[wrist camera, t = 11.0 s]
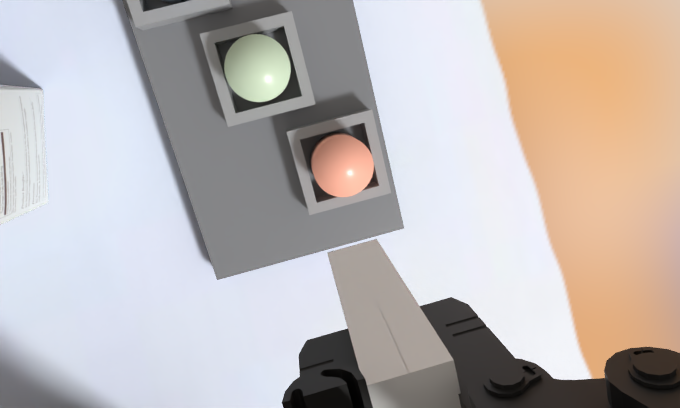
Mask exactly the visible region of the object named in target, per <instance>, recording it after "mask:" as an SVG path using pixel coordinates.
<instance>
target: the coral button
mask: <svg viewBox="0 0 680 408" xmlns="http://www.w3.org/2000/svg"><path fill="white" fill-rule="evenodd" d="M310 164H311V169H312V172H313V174H314V177H315V180H316V182H317V183H318V185H319V186H320V187H321V188H322V189H323V190H324V191H325V192H327V193H328V194H330V195H333V196H336V197H349V196H353V195H355V194H357V193H359V192H361V191H362V190H363V189H364V188H365V187H366V186H367V185H368V183H369V182H370V180H371V178H372V175H373V170H374V162H373V158H372V155H371V153H370V151H369V149H368V148H367V147H366V146H365V145H364V144H363V143H362V142H361V141H359V140H357V139H356V138H354V137H353V136H351V135H348V134H345V133H331V134H328V135H326V136H324V137H323V138H321V139H320V140H319V141H318V142H317V143H316V145H315V146H314V148H313V150H312V153H311V158H310Z"/></svg>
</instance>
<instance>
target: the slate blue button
mask: <svg viewBox="0 0 680 408" xmlns="http://www.w3.org/2000/svg"><path fill="white" fill-rule="evenodd" d="M162 1H164V2H168V3H182V2H186V1H188V0H162Z"/></svg>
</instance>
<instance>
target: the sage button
mask: <svg viewBox="0 0 680 408" xmlns="http://www.w3.org/2000/svg"><path fill="white" fill-rule="evenodd" d="M224 70H225V76H226V79H227V81H228V83H229V85H230V87H231V88H232V89H233V90H234V92H235V93H237V94H238V95H239V96H241V97H242V98H244V99H246V100H249V101H253V102H265V101H269V100H272V99H274V98H276V97H277V96H279V95H280V94H281V93H282V92H283V91H284V89H285V88H286V86H287V84H288V81H289V78H290V72H291V68H290V61H289V58H288V55H287V53H286V51H285V50H284V48H283V47H282V46H281V45H280V44H279V43H278V42H277V41H276V40H274V39H272V38H271V37H268V36H265V35H261V34H251V35H247V36H244V37H242V38H240V39H238V40H237V41H236V42H235V43H233V45H232V46H231V47H230V49H229V50H228V52H227V54H226V58H225V63H224Z"/></svg>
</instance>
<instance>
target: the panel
mask: <svg viewBox="0 0 680 408" xmlns="http://www.w3.org/2000/svg"><path fill="white" fill-rule="evenodd" d="M122 1H123V3H124V6H125V9H126V12H127V15H128V18H129V21H130V24H131V27H132V30H133V33H134V36H135V39H136V42H137V45H138V48H139V51H140V54H141V57H142V60H143V62H144V65H145V68H146V71H147V74H148V77H149V80H150V83H151V86H152V89H153V92H154V95H155V98H156V101H157V104H158V107H159V110H160V113H161V116H162V118H163V121H164V124H165V127H166V130H167V133H168V136H169V139H170V142H171V145H172V148H173V151H174V154H175V157H176V160H177V163H178V166H179V169H180V172H181V175H182V177H183V180H184V183H185V186H186V189H187V192H188V195H189V198H190V201H191V204H192V207H193V210H194V213H195V216H196V219H197V222H198V225H199V228H200V231H201V234H202V236H203V239H204V242H205V245H206V248H207V251H208V254H209V257H210V260H211V263H212V266H213V269H214V272H215V275H216V278H217V280H219V279H222V278H226V277H230V276H233V275H237V274H240V273H244V272H248V271H251V270H255V269H259V268H262V267H266V266H269V265H273V264H277V263H280V262H284V261H287V260H291V259H295V258H298V257H302V256H306V255H309V254H313V253H316V252H320V251H324V250H327V249H331V248H334V247H338V246H342V245H345V244H349V243H353V242H356V241H360V240H363V239H367V238H371V237H374V236H378V235H381V234H385V233H389V232H392V231H396V230H400V229H403V228H404V226H403V221H402V217H401V212H400V208H399V203H398V199H397V195H396V190H395V186H394V181H393V177H392V172H391V168H390V163H389V159H388V155H387V150H386V146H385V141H384V137H383V132H382V128H381V123H380V119H379V115H378V110H377V106H376V101H375V97H374V92H373V88H372V83H371V79H370V75H369V70H368V66H367V61H366V57H365V52H364V48H363V43H362V39H361V35H360V30H359V26H358V21H357V17H356V12H355V8H354V3H353V0H188V1H186V2H182V3H168V2H164V1H162V0H122ZM251 34H261V35H265V36H268V37H271V38H272V39H274V40H276V41H277V42H278V43H279V44H280V45H281V46H282V47H283V48H284V50H285V51H286V53H287V55H288V58H289V61H290V68H291V72H290V78H289V81H288V84H287V86H286V88H285V89H284V91H283V92H282V93H281V94H280V95H279V96H277V97H276V98H274V99H272V100H269V101H265V102H253V101H249V100H246V99H244V98H242V97H241V96H239V95H238V94H237V93H235V92H234V90H233V89H232V88H231V87H230V85H229V83H228V81H227V79H226V76H225V70H224V63H225V58H226V54H227V52H228V50H229V49H230V47H231V46H232V45H233V43H235V42H236V41H237V40H238V39H240V38H242V37H244V36H247V35H251ZM331 133H345V134H348V135H351V136H353V137H354V138H356V139H357V140H359V141H361V142H362V143H363V144H364V145H365V146H366V147H367V148H368V149H369V151H370V153H371V155H372V158H373V162H374V170H373V175H372V178H371V180H370V182H369V183H368V185H367V186H366V187H365V188H364V189H363V190H362V191H361V192H359V193H357V194H355V195H353V196H349V197H336V196H333V195H330V194H328V193H327V192H325V191H324V190H323V189H322V188H321V187H320V186H319V185H318V183H317V182H316V180H315V177H314V174H313V172H312V169H311V164H310V158H311V153H312V150H313V148H314V146H315V145H316V143H317V142H318V141H319V140H320V139H321V138H323V137H324V136H326V135H328V134H331Z"/></svg>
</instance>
